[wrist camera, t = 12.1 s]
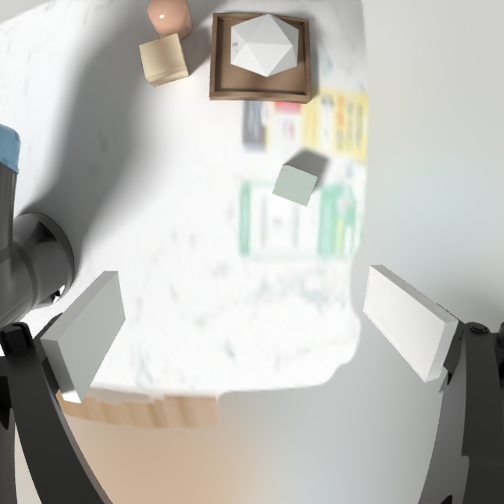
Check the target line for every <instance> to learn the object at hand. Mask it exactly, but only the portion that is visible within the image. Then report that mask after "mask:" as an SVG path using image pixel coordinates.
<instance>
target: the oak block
mask: <svg viewBox="0 0 504 504" xmlns="http://www.w3.org/2000/svg"><path fill="white" fill-rule="evenodd" d="M139 49H140V54H141V59H142V64H143V69H144V73H145V78H146V79H147V80H148V81H149V82H150V83H151V84H152V85H153V87H156V86H159V85H162V84H165V83H168V82H171V81H175V80H178V79H182V78H185V77H189V74H188V70H187V65H186V61H185V57H184V53H183V49H182V46H181V43H180V40H179V37H178V34H177V33H176V34H172V35H169V36H166V37H162V38H159V39H156V40H153V41H150V42H147V43H144V44H141V45H139Z"/></svg>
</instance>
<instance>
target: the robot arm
mask: <svg viewBox="0 0 504 504" xmlns="http://www.w3.org/2000/svg"><path fill="white" fill-rule="evenodd" d="M19 152H20V137H19V135H18V133H17V132H16V131H15V130H14V129H12V128H10V127H7V126H4V125H1V124H0V344H1V347H2V349H3V352H4V354H5V356H0V504H17V497H16V485H15V460H14V445H15V444H14V443H15V422H16V426H17V430H18V434H19V438H20V442H21V446H22V449H23V453H24V456H25V459H26V462H27V465H28V468H29V471H30V474H31V477H32V480H33V482H34V485H35V488H36V490H37V493H38V495H39V498H40V500H41V503H42V504H113V503H112V502H111V500H110V499H109V498H108V496H107V494H106V493H105V491H104V490H103V488H102V487H101V485H100V483H99V482H98V480H97V478H96V477H95V475H94V473H93V472H92V470H91V468H90V466H89V465H88V463H87V461H86V459H85V457H84V455H83V454H82V452H81V450H80V448H79V446H78V444H77V442H76V440H75V438H74V436H73V434H72V432H71V430H70V428H69V425H68V423H67V421H66V419H65V416H64V414H63V412H62V409H61V407H60V405H59V402H58V400H57V398H56V396H55V395H56V393H57V391H58V390H59V389H60V391H61V393H62V396H63V398H64V400H67V401H72V402H77V403H82V401H83V399H84V397H85V395H86V393H87V390H88V388H89V386H90V384H91V382H92V381H93V379H94V377H95V375H96V373H97V371H98V369H99V367H100V365H101V363H102V361H103V359H104V357H105V355H106V354H107V352H108V350H109V348H110V346H111V344H112V343H113V341H114V339H115V337H116V335H117V333H118V332H119V330H120V328H121V326H122V325H123V323H124V321H125V315H124V309H123V303H122V297H121V291H120V285H119V278H118V271H104V272H103V273H102V274H101V275H100V276H99V277H98V278H97V279H96V280H95V281H94V282H93V283H92V284H91V285H90V286H89V287H88V288H87V289H86V290H85V291H84V292H83V293H82V294H81V295H80V296H79V297H78V298H77V299H76V300H75V301H74V302H73V303H72V304H71V305H70V306H69V307H68V308H67V309H66V311H65V312H64V313H60V314H58V315H57V316H55V317H53V318H52V319H51V320H50V321H49V322H48V323H47V325H46V326H45V327H44V328H43V330H41V331H40V332H39V333H38V334H37V335H36V336H35V338H34V339H32V336H31V333H30V330H29V327H28V325H27V324H26V323H24V322H19V321H20V320H21V319H22V318H23V317H24V316H25V315H26V314H27V313H28V312H29V311H31V310H34V309H38V308H42V307H46V306H50V305H52V304H54V303H56V302H57V301H58V300H59V299H60V298H62V297H63V296H64V295H65V294H66V292H67V291H68V290H69V288H70V286H71V283H72V280H73V275H74V259H73V254H72V250H71V247H70V244H69V242H68V239H67V237H66V236H65V234H64V232H63V231H62V229H61V228H60V227H59V226H58V225H57V224H56V223H55V222H54V221H53V220H52V219H51V218H49V217H47V216H46V215H43V214H40V213H34V212H33V213H27V214H24V215H21V216H18V217H16V218H15V219H13V213H14V200H15V190H16V181H17V174H19V169H18V160H19ZM363 312H364V313H365V314H366V315H367V316H368V317H369V319H370V320H371V321H372V322H373V323H374V324H375V325H376V326H377V327H378V329H379V330H380V331H381V332H382V333H383V334H384V335H385V336H386V338H387V339H388V340H389V341H390V342H391V343H392V344H393V346H394V347H395V348H396V349H397V350H398V351H399V352H400V354H401V355H402V356H403V357H404V358H405V359H406V360H407V362H408V363H409V364H410V365H411V366H412V368H413V369H414V370H415V371H416V372H417V373H418V375H419V376H420V377H421V378H422V379H423V381H424V382H427V381H430V380H434V379H437V378H439V375H440V373H441V370H442V368H443V366H444V367H445V368H446V369H447V370H448V372H447V374H446V377H445V379H444V382H443V384H442V386H441V388H440V391H439V392H442V390H443V389H444V390H443V399H442V406H441V412H440V419H439V424H438V430H437V435H436V440H435V445H434V449H433V453H432V458H431V462H430V466H429V470H428V474H427V477H426V480H425V484H424V488H423V491H422V494H421V497H420V500H419V503H418V504H504V322H503V323H502V324H501V326H500V329H499V332H498V333H491V332H490V330H489V329H488V328H487V327H486V326H484V325H482V324H479V323H474V322H470V323H466V324H464V323H463V322H461V321H460V320H459V319H457V318H456V317H455V316H454V315H452V314H450V313H449V312H448V311H447V310H444V308H443V307H441V306H440V305H439V304H437V303H435V302H434V301H432V300H431V299H429V298H428V297H427V296H425V295H424V294H423V293H421V292H420V291H418V290H417V289H416V288H414V287H413V286H411V285H410V284H409V283H407V282H406V281H404V280H403V279H401V278H400V277H399V276H397V275H396V274H394V273H393V272H391V271H390V270H388V269H387V268H386V267H384V266H383V265H371V266H370V270H369V277H368V284H367V290H366V297H365V303H364V309H363Z"/></svg>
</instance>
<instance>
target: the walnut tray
mask: <svg viewBox="0 0 504 504" xmlns="http://www.w3.org/2000/svg"><path fill="white" fill-rule="evenodd" d="M263 15H266V14H249V13H213V25H212V43H211V64H210V92H209V97H210V100H253V101H275V102H290V103H302V104H307V103H308V102H309V101H311V70H310V41H309V21H308V19H304V18H296V17H288V16H278V15H273V16H275V17H276V18H278V19H280V20H282V21H284V22H286V23H287V24H289V25H291V26H293V27H294V28H296V29H298V30H299V32H298V55H297V66H296V67H293V68H290V69H287V70H284V71H282V72H279V73H276V74H273V75H271V76H268V77H266V76H263V75H261V74H258V73H255V72H253V71H250V70H247V69H244V68H241V67H239V66H236V65H233V64H231V27H232V26H234V25H237V24H240V23H242V22H245V21H248V20H251V19H254V18H257V17H260V16H263Z"/></svg>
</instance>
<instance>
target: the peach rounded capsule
mask: <svg viewBox="0 0 504 504" xmlns="http://www.w3.org/2000/svg"><path fill="white" fill-rule="evenodd" d="M147 13H148V15H149V17H150V19H151V21H152V23H153V25H154V27H155V29H156V31H157V33H158V35H159V37H160V38H162V37H166V36H169V35H172V34H176V33H177V34H178V37H179V40H182V39H184V38H185V37H187V36H188V35H189V33H190V32H191V29H192V22H191V17H190V13H189V8H188V3H187V0H151V1H150V3H149V4H148V7H147Z"/></svg>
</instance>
